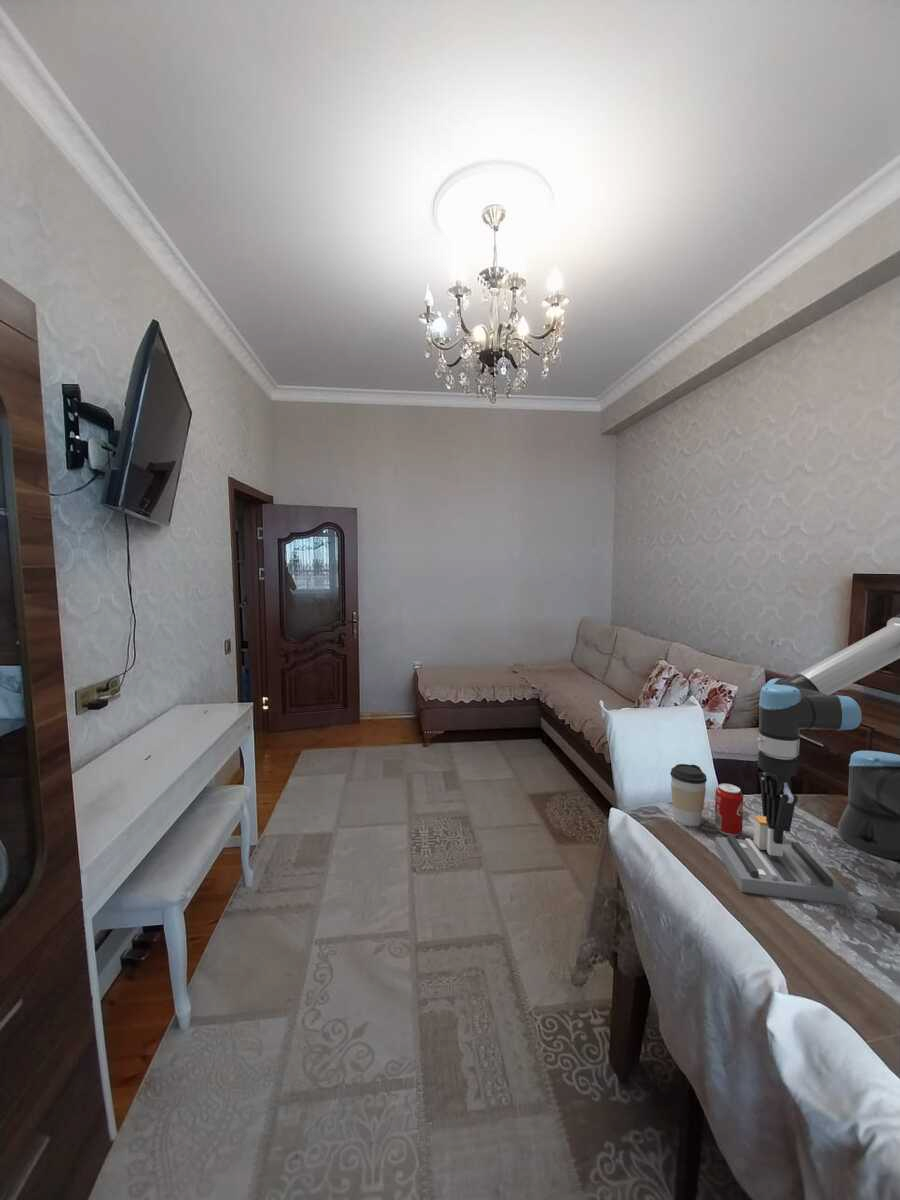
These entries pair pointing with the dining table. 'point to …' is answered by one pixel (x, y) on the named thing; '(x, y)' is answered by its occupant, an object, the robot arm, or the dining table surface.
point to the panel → (779, 874)
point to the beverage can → (728, 809)
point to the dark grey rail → (743, 856)
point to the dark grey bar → (812, 864)
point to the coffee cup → (688, 793)
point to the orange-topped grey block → (760, 832)
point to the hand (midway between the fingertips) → (774, 853)
